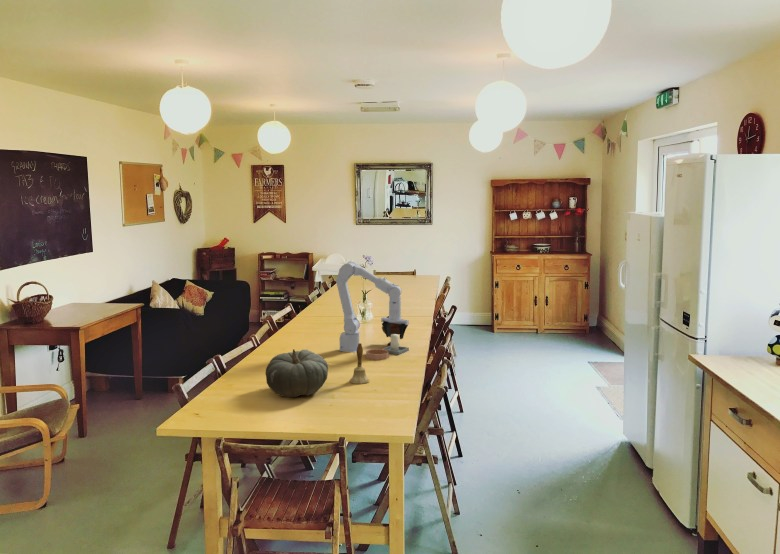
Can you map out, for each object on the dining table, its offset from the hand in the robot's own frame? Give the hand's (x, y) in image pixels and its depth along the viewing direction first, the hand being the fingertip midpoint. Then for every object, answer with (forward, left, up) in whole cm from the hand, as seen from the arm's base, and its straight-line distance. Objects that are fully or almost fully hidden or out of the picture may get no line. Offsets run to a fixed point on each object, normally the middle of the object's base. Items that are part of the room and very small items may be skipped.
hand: (394, 337), depth 300 cm
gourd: (-2, -72, -8) cm, 72 cm away
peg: (0, 0, -7) cm, 7 cm away
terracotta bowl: (-2, -13, -7) cm, 15 cm away
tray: (0, 0, -7) cm, 7 cm away
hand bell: (+11, -48, -8) cm, 50 cm away
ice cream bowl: (-9, +13, -8) cm, 17 cm away
